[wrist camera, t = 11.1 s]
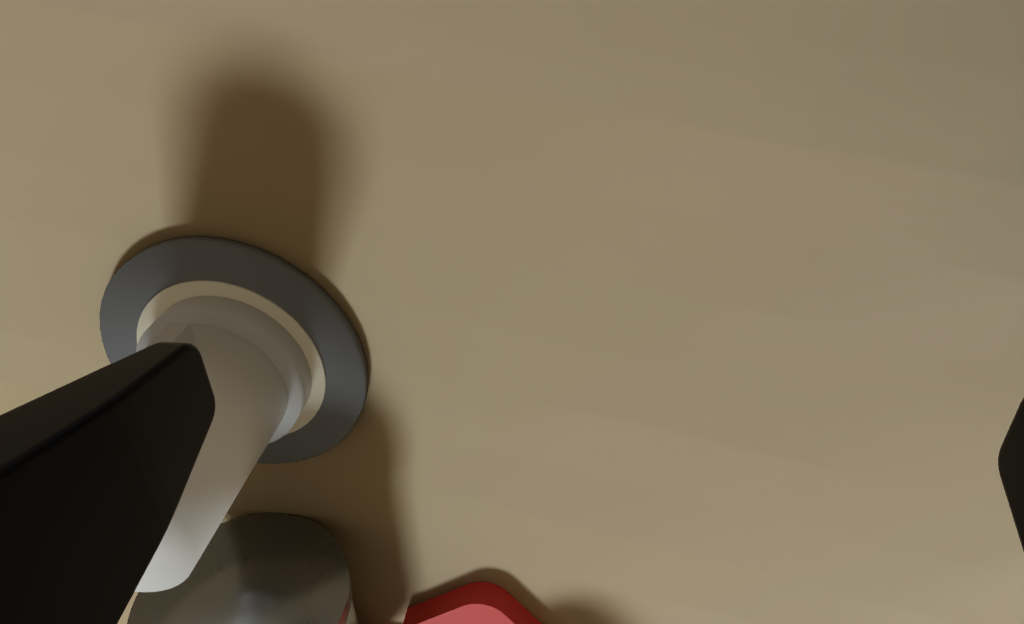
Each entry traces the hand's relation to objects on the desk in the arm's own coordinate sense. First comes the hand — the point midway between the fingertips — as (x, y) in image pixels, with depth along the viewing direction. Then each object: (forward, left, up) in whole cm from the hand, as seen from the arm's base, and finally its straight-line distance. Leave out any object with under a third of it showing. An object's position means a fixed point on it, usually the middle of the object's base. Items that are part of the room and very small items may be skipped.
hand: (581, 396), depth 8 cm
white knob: (+12, +9, -12) cm, 19 cm away
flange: (+12, +9, -12) cm, 19 cm away
